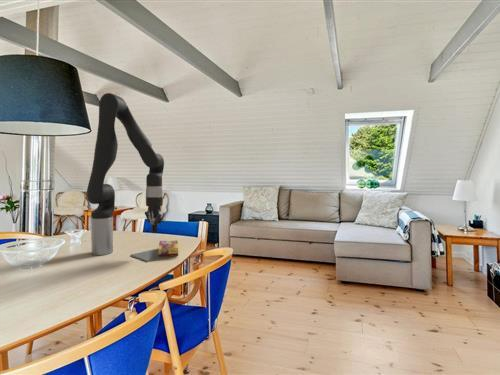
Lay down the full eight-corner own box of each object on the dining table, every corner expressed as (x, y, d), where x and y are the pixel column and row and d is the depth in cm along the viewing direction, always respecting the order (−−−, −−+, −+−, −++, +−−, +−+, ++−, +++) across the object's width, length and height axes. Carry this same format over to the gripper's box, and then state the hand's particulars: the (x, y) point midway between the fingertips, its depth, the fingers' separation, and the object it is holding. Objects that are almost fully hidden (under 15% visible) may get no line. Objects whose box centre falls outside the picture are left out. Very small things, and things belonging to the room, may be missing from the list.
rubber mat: (130, 255, 134) (130, 254, 134) (160, 249, 146) (160, 247, 146) (147, 262, 125) (147, 260, 125) (177, 254, 138) (177, 252, 137)
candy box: (178, 256, 132) (177, 247, 147) (178, 247, 132) (177, 239, 147) (158, 258, 130) (159, 248, 145) (158, 248, 130) (159, 240, 144)
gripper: (139, 195, 135) (139, 231, 136) (155, 197, 127) (155, 235, 128) (153, 194, 141) (153, 229, 142) (169, 196, 133) (169, 233, 134)
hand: (154, 232), depth 135 cm, fingers closed
